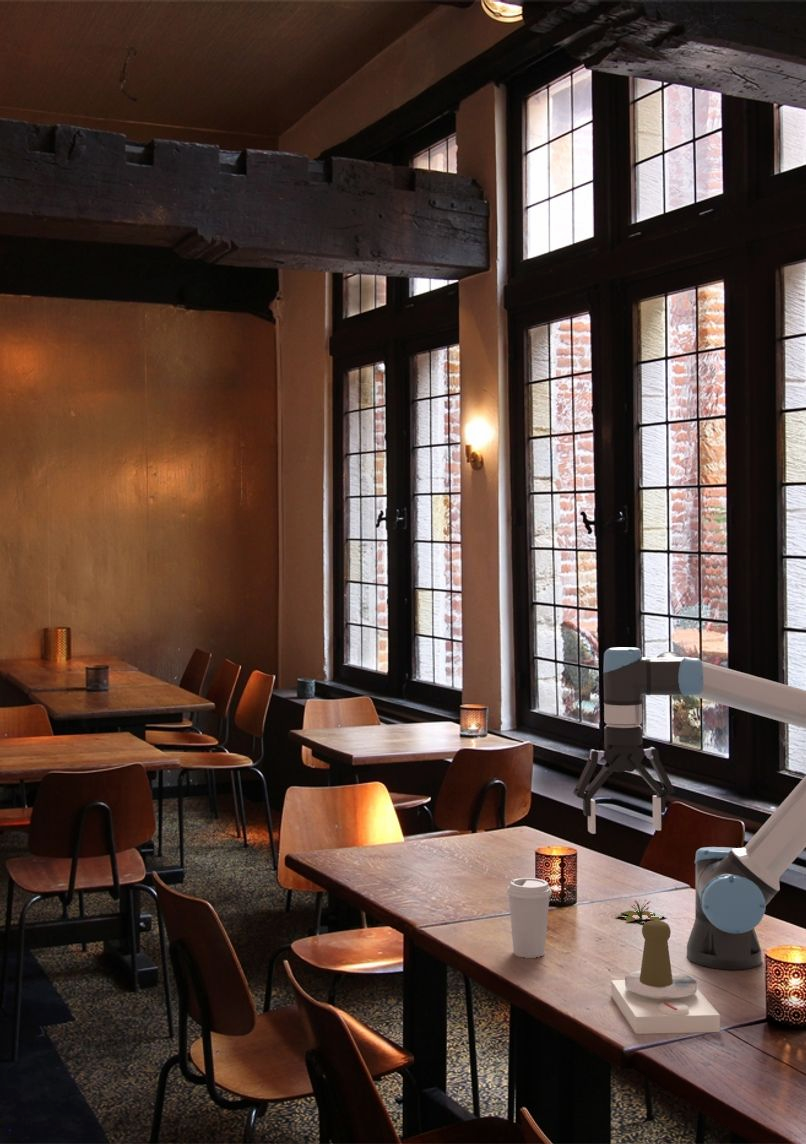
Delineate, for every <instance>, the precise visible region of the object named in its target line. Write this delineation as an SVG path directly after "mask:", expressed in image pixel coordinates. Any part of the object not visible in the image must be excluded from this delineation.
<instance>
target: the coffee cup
mask: <svg viewBox="0 0 806 1144" xmlns="http://www.w3.org/2000/svg"><path fill="white" fill-rule="evenodd" d="M505 893H506V895H508V899H509V915H510V925H511V935H512V936H511V937H512V938H511V939H512V949H513V955H514V956H516V957H519V958H523V957H525V958H524V959H537V958H536V957H538V958H541V957H540V956H542V957H543V956H544V955H545V951H546V950H545V949H546V940H547V929H548V928H547V927H548V918H549V917H548V915H549V905H550V896H551V895H552V893H553V892H552V889H551V887H550V886H549V883H548V881H547V880H545V879H542V878H541V879H540V878H535V877H520V878H514V879H512V880H511V881H510V882H509V885H508V886H507V888H506V892H505Z"/></svg>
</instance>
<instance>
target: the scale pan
mask: <svg viewBox="0 0 806 1144" xmlns="http://www.w3.org/2000/svg"><path fill="white" fill-rule="evenodd" d="M671 972H672V980H673V983H672V984H671V985H669V986H665V987H654V986H648V985H645V984H642V983H641V982H640V973H641V969H640V970H635V971H633V972H630V973H628V974H627V975H625V978H624V980H625V988H626V989H627V990H628V991H629V992H631V993H633V994H635V995H638V996H641V997H645V998H651V999H658V1000H677V999H684V998H688V997H691V996H693V995H694V994H695V993H696V991H697V989H698V986H697V984H698V983H697V981H696V979H694V978H693V977H691V976H690V975H687V974H684V973H682V972H678V971H674V970H671Z"/></svg>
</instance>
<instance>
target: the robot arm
mask: <svg viewBox="0 0 806 1144" xmlns="http://www.w3.org/2000/svg"><path fill="white" fill-rule="evenodd" d="M602 674H603V705H604V709H603V711H604V712H603V717H604V720H603V721H604V723H605V724H606V725H605V726H604V729H603V731H604V733H603V735H604V737H603V738H604V748H603V750H595V749H592V748H591V749H589V750H588V758H587V759H588V760H587V762H586V764H585V766H584V768H583V771H582V773H581V774H580V778H578V782H577V783H576V786H575V788H574V790H573V794H574V796H576V797H578V799H579V798H580V799H581V800H582V812H583V816H585V817H587V832H589V833H590V834H592V835H594V834H597V832H596V829H597V828H596V827H597V826H596V800H595V799H593V798H594V796H595V795H596V793H597V792H598V791H599V790H600V788H602V786H603V784H604V783H605V782H606V781H607V779H608V778H609V776H611V775H612V774H613V773H614V772H617V773H624V772H629V773H630V772H631V773H632V772H634V771H636V772H637V773H638V774H639V775H640V776H641V778H642V779H643V780H644V781H645V782H646V783H647V785H649V786H650V788H651V790H652V791H654V792H655V794H656V795H652V828H653V829H654V830H656V831H662V814H664V813H665V812H666V798H667V797H668V795H671V794H674V793H675V791H676V790H675V788H674V786H673V784H672V782H671V780H670V778H669V777H668V774H667V772H666V770H665V768H664V765H663V764H662V762H661V760H660V756H659V749H657V748H655V747H653V746H650V747H648V748H644V747H643V727H642V725H641V724H642V723H643V699H642V698H643V696H678V697H679V696H681V697H682V696H683V697H688V696H692V697H695V698H699V699H702V700H706V701H709V702H713V703H716V704H719V705H723V706H726V707H730V708H734V709H737V710H740V711H744V712H747V713H751V714H754V715H758V716H761V717H765V718H768V719H770V720H771V719H772V720H775V721H777V722H782V723H785V724H788V725H792V726H795V727H799V728H802V729H806V690H805V689H802V688H798V687H794V686H791V685H788V684H783V683H780V682H777V681H773V680H770V679H767V678H763V677H760V676H759V677H758V676H755V675H753V674H749V673H745V672H741V671H738V670H734V669H731V668H728V667H723V666H720V665H716V664H712V663H709V662H705V661H703V660H701V659H700V658H698V657H688V656H683V655H681V654H680V653H678V652H673V651H665V652H662V653H660V654H659V655H657V656H656V657H643V654H642V650H641V648H638V647H624V646H623V647H621V646H620V647H619V646H618V647H617V646H616V647H610V648H607V649H606V650H605V651H604V653H603V672H602ZM645 756H646V759H649V762H650V763H651V765H652V767H653V769H654V771H655V773H656V775H657V776H658V780H659V781H660V784H661V785H662V787H663V788H662V787H661V785H660V784H659V783H658V782H657V781H656V780H655V778H654V777H653V776H652V774H650V773H649V771H648V770H647V768H646V767H645V766H644V765H643V764H642V760H643V759H644V758H645ZM602 758H603V759H604V760H605V763H604V764H603V766H602V767H601V770H600V771H599V772H598V773H597V775H596V776H595V777H594V779H593V780H592V781H591V782H590V780H591V779H592V775H594V772H595V770H596V768H597V765H598V763H599V762H600V761H601V759H602ZM589 782H590V784H589ZM804 849H806V775H805V776H804V777H803V778H802V780H800V782H799V783H798V784H797V785H796V786H795V787H794V789H793V790H792V791H791V792H790V793H789V794H788V796H787V797H786V798H785V799H784V800H783V801H782V802H781V803H780V805H779V806H778V807H777V808H776V809H775V811H774V812H773V813H772V814H771V816H770V817H769V818H768V819H767V820H766V821H765V822H764V824H763V825H762V826H761V827H760V828H759V829H758V831H757V832H755V834H754V835H753V836H752V837H751V839H750V840H749V841H748V842H747V843H746V845H745V846H743V847H737V848H736V847H726V846H725V847H724V846H720V847H719V846H708V847H707V846H705V847H700V848H699V849H697V850H696V852H695V859H694V864H695V894H694V895H695V897H694V898H695V903H694V904H695V914H694V915H695V918H694V923H693V926H692V929H691V932H690V934H689V937H688V940H687V945H686V957H687V959H688V960H689V961H691V962H693V963H694V964H696V965H699V966H703V967H707V968H711V969H717V970H731V971H732V970H733V971H734V970H735V971H736V970H739V971H740V970H747V969H748V970H749V969H752V968H756V967H758V966H759V965H761V964H762V960H763V959H762V957H763V955H762V947H761V946H760V942H759V938H758V935H757V931H756V929H755V928H756V927H757V926H758V925H759V924H761V921H762V919H763V918H764V916H765V913H766V906H767V905H768V904H769V903H770V902H771V900H772V899H773V898H774V897H775V895H777V893H778V892H779V891H780V889H781V888H780V878H781V876H782V875H783V873H785V871H786V870H787V869H788V868H789V867H790V866H791V865H792V863H793V862H794V861H796V859H797V857H798V856H799V855H800V854H801V853H802V852H803V851H804Z"/></svg>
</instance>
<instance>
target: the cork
mask: <svg viewBox="0 0 806 1144" xmlns="http://www.w3.org/2000/svg"><path fill="white" fill-rule="evenodd" d="M646 921H647V920H646ZM646 921H644V922H645V923H644V922H643V923H644V924H642V927H641V934H642V937H643V938H644V944H643V951H642V952H643V953H642V960H641V968H640V970H641V973H640V982H641V983H642V984H645V985H648V986H654V987H665V986H669V985H671V984H672V983H673V980H672V972H671V971H672V966H671V965H672V964H671V957H670V950H669V943H668V941H669V939H670V936H671V932H672V931H671V930H672V929H671V928H670V925H669V924H668V923H667V922H665V921H664V920H663V921H662V920H661V921H657V920H650V921H647V922H646Z"/></svg>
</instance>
